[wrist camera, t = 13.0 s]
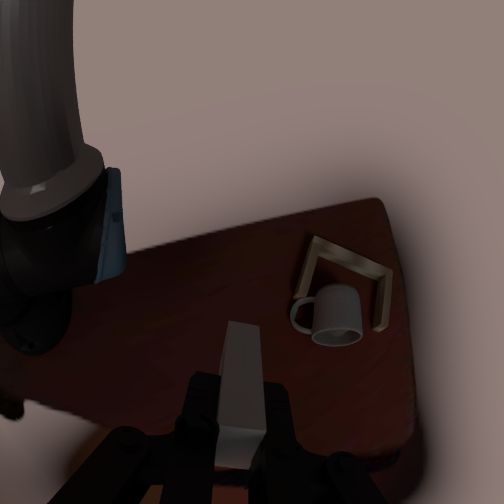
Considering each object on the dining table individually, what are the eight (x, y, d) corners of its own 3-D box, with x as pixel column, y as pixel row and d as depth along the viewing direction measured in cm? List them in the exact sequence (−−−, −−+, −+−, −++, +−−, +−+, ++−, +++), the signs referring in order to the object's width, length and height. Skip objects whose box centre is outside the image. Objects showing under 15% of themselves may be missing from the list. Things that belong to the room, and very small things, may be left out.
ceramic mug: (346, 303, 46) (368, 283, 40) (347, 348, 42) (371, 334, 35) (289, 294, 46) (304, 271, 39) (285, 341, 41) (302, 325, 35)
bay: (292, 298, 45) (298, 291, 43) (309, 244, 52) (314, 235, 49) (378, 332, 44) (387, 326, 42) (384, 277, 51) (392, 270, 49)
